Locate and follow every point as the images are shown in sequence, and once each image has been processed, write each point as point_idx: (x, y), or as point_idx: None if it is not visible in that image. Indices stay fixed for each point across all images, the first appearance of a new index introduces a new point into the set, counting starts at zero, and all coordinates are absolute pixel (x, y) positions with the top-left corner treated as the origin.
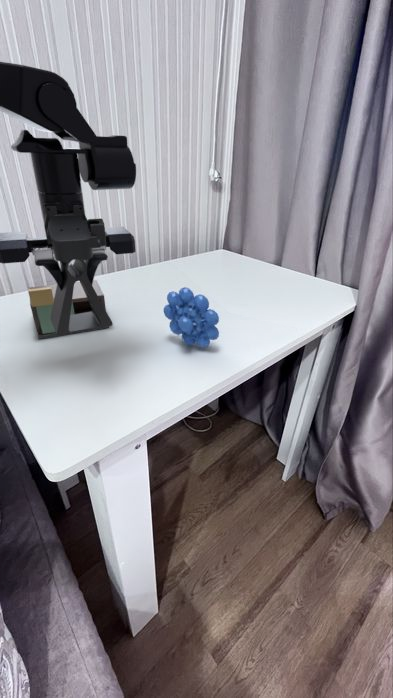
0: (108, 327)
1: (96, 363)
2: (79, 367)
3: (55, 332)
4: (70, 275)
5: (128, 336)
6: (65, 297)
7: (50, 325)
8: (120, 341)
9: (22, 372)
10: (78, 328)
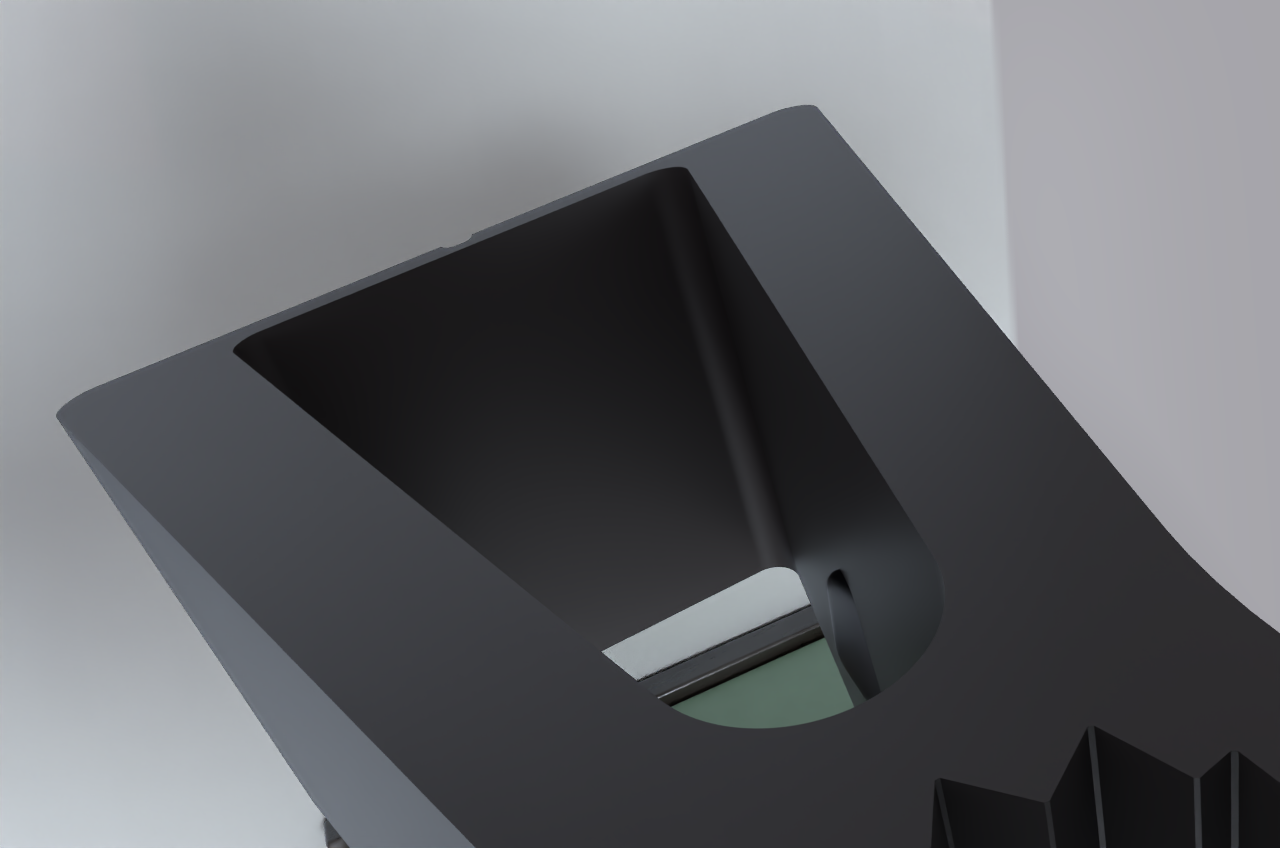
0: (327, 822)
1: (344, 259)
2: (492, 204)
3: (747, 666)
4: (1277, 733)
5: (92, 718)
6: (964, 326)
7: (803, 699)
8: (164, 628)
9: (904, 168)
10: (562, 263)
